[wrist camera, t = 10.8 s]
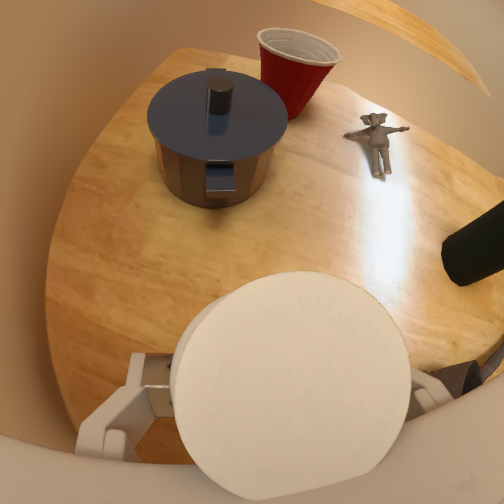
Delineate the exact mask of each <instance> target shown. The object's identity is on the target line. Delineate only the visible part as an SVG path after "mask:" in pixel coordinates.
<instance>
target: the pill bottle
mask: <svg viewBox="0 0 504 504" xmlns="http://www.w3.org/2000/svg"><path fill="white" fill-rule="evenodd" d="M170 392H171V398H172V403H173V408H174V414H175V421H176V424H177V427H178V430H179V434H180V437H181V440H182V442H183V444H184V446H185V448H186V449H187V451H188V453H189V454H190V456H191V457H192V459H193V460H194V462H195V463H196V464H197V466H198V467H199V468H200V469H201V470H202V471H203V472H204V473H205V474H206V475H207V476H208V477H209V478H210V479H211V480H213V481H214V482H215V483H217V484H218V485H219V486H221V487H222V488H224V489H225V490H227V491H229V492H231V493H233V494H235V495H237V496H239V497H242V498H245V499H248V500H262V499H268V498H274V497H279V496H284V495H289V494H294V493H298V492H302V491H306V490H310V489H315V488H318V487H322V486H326V485H330V484H333V483H337V482H340V481H344V480H347V479H350V478H354V477H357V476H360V475H363V474H365V473H368V472H370V471H371V470H373V469H374V468H375V467H376V466H377V465H378V464H379V463H380V462H381V460H382V459H383V458H384V457H385V455H386V454H387V453H388V451H389V450H390V448H391V447H392V445H393V443H394V442H395V440H396V438H397V437H398V435H399V433H400V431H401V428H402V426H403V423H404V421H405V418H406V414H407V411H408V407H409V401H410V395H411V367H410V360H409V355H408V351H407V347H406V344H405V341H404V339H403V337H402V335H401V332H400V330H399V328H398V327H397V325H396V323H395V322H394V320H393V318H392V317H391V315H390V314H389V313H388V312H387V311H386V309H385V308H384V307H383V306H382V304H381V303H379V302H378V301H377V300H376V299H375V298H374V297H373V296H372V295H370V294H369V293H368V292H366V291H365V290H364V289H362V288H361V287H359V286H357V285H355V284H354V283H351V282H349V281H347V280H345V279H342V278H340V277H337V276H333V275H330V274H326V273H321V272H313V271H291V272H282V273H275V274H271V275H267V276H264V277H262V278H258V279H255V280H253V281H251V282H249V283H246V284H244V285H242V286H241V287H239V288H237V289H235V290H234V291H232V292H229V293H227V294H225V295H223V296H221V297H219V298H218V299H216V300H214V301H213V302H211V303H210V304H209V305H207V306H206V307H205V308H204V309H203V310H201V311H200V312H199V313H198V314H197V315H196V316H195V317H194V319H193V320H192V321H191V322H190V323H189V325H188V326H187V328H186V329H185V331H184V332H183V334H182V336H181V338H180V340H179V342H178V344H177V347H176V350H175V352H174V356H173V360H172V364H171V369H170Z"/></svg>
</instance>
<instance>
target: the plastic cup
mask: <svg viewBox="0 0 504 504" xmlns="http://www.w3.org/2000/svg"><path fill="white" fill-rule="evenodd" d="M257 40H258V42H259V45H260V56H261V82H263V83H265V84H266V85H268V86H269V87H270V88H272V89H273V90H274V91H275V92H276V93H277V94H278V95H279V96H280V98H281V99H282V101H283V102H284V104H285V106H286V109H287V114H288V120H291V119H294V118H296V117H297V116H298V115H299V114H300V113H301V111H302V110H303V108H304V107H305V105H306V104H307V102H308V101H309V100H310V99H311V97H312V96H313V94H314V93H315V91H316V90H317V88H318V87H319V85H320V84H321V82H322V81H323V79H324V78H325V76H326V75H327V74H328V73H329V72H330V70H331V69H332V68H333V67H334V65H336V64H337V63H339V62H340V61H341V60H342V54H341V52H340V51H339V50H338V49H337V48H336V47H335V46H334V45H332V44H330V43H329V42H327V41H325V40H324V39H322V38H319V37H317V36H315V35H312V34H310V33H306V32H302V31H298V30H294V29H286V28H267V29H264V30H262V31H260V32H259V33H258V35H257Z"/></svg>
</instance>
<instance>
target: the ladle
mask: <svg viewBox="0 0 504 504" xmlns="http://www.w3.org/2000/svg"><path fill="white" fill-rule="evenodd" d="M503 358H504V342H503V344H502V345H501V346H500V347H499V349H498V350H497V351H495V352H494V353H493V354H492V355H491V356H490V357H489V358H488V360H487V361H486V362H485V363H484V364H483V366H482V367H481V368H480V367H479V364H478V363H477V361H476V360H472V361H468V362H465V363H461V364H456V365H452V366H448V367H445V368H442V369H439V370H437V371H435V372H434V373H432V374H430V376H432V377H434V378H436V379H438V380H440V381H441V382H442V383H443V385H444V386H445V387H446V389H447V390H448V391H449V393H450V394H451V395H452V397H453V398H454V399H457V398H459V397H461V396H463V395H465V394H467V393H468V392H470V391H472V390H474V389H475V388H477V387H479V386H481V385H482V384H483V383H484V381H485V380H486V379H487V378H488V377H489V376H490V375H491V374H492V373H493V372H494V371H495V370H496V369H497V367H498V366H499V365H500V363H501V361H502V360H503Z"/></svg>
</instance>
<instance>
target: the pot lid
mask: <svg viewBox="0 0 504 504" xmlns="http://www.w3.org/2000/svg"><path fill="white" fill-rule="evenodd" d="M147 121H148V126H149V129H150V132H151V134H152V136H153V137H154V138H155V140H156V141H157V142H158V143H159V144H160V145H161V146H162V147H163V148H165V149H166V150H168V151H169V152H171V153H173V154H175V155H177V156H179V157H181V158H184V159H187V160H190V161H195V162H199V163H207V164H232V163H238V162H243V161H247V160H251V159H253V158H256V157H259V156H261V155H263V154H265V153H266V152H268V151H269V150H271V149H272V148H274V147H275V146H276V145H277V144H278V143H279V141H280V140H281V139H282V137H283V135H284V133H285V131H286V128H287V124H288V114H287V109H286V106H285V104H284V102H283V101H282V99H281V98H280V96H279V95H278V94H277V93H276V92H275V91H274V90H273V89H272V88H270V87H269V86H268V85H266V84H265V83H263V82H261V81H260V80H258V79H256V78H253V77H251V76H248V75H245V74H241V73H237V72H232V71H224V70H208V71H199V72H194V73H190V74H187V75H184V76H181V77H179V78H177V79H174V80H172V81H171V82H169V83H168V84H166V85H165V86H163V87H162V88H161V89H160V90H159V91H158V92H157V93H156V94H155V96H154V97H153V98H152V100H151V102H150V104H149V107H148V111H147Z"/></svg>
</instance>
